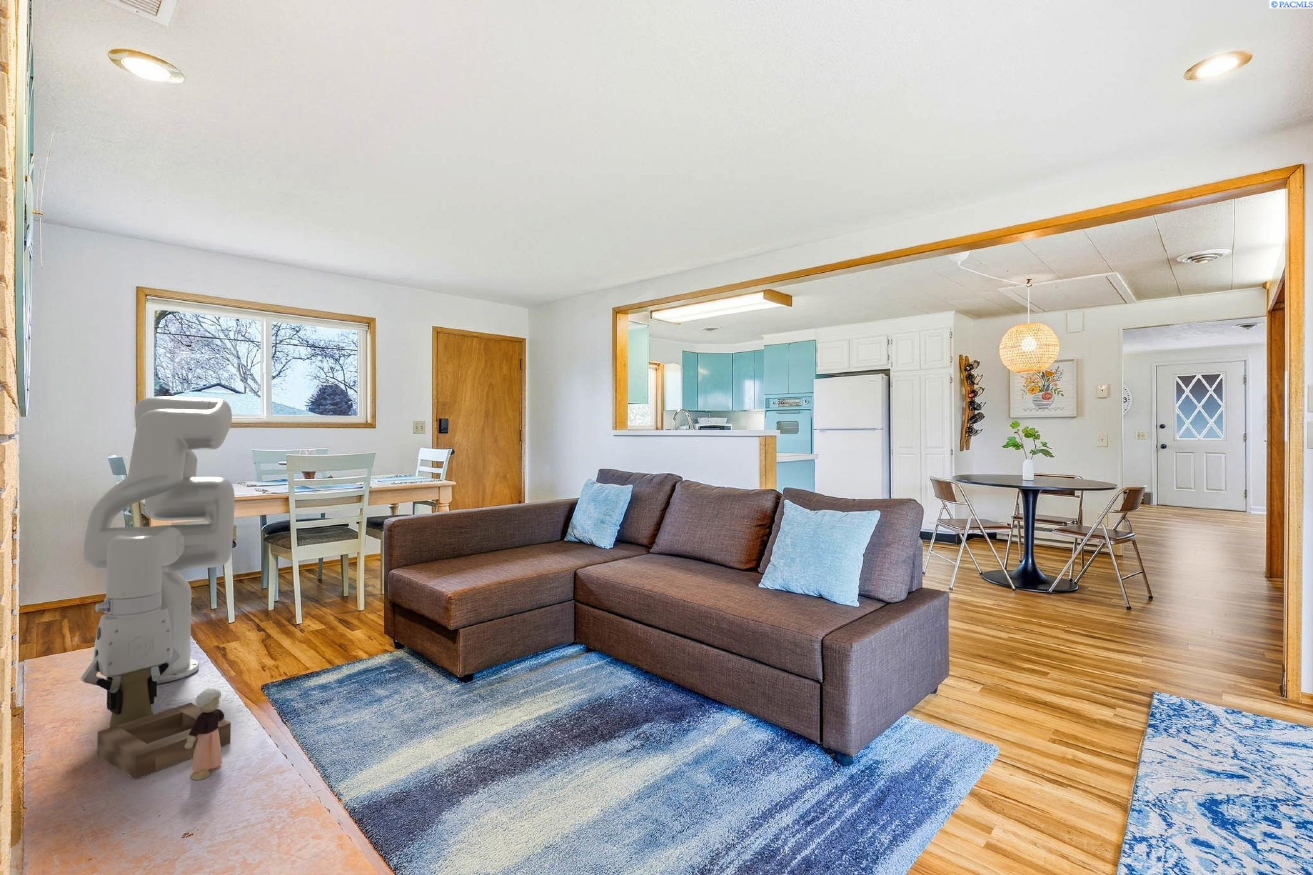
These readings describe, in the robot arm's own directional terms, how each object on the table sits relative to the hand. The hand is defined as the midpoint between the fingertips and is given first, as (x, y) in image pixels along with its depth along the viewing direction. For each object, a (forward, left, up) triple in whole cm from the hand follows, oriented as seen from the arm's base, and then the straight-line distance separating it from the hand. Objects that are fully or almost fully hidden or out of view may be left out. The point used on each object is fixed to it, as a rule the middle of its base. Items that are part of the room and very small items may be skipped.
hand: (132, 706), depth 110 cm
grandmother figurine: (+27, 0, -3) cm, 27 cm away
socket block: (+14, -1, -3) cm, 14 cm away
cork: (0, 0, -3) cm, 3 cm away
